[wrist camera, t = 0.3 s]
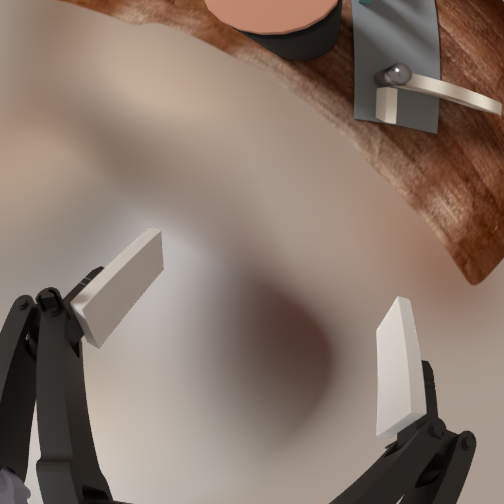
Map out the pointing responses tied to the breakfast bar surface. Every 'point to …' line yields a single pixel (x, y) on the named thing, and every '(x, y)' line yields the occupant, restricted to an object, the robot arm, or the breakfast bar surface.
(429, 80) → the gate
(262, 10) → the coffee jar
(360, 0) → the bar
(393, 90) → the fence
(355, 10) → the mat
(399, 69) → the hinge post
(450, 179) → the breakfast bar surface
